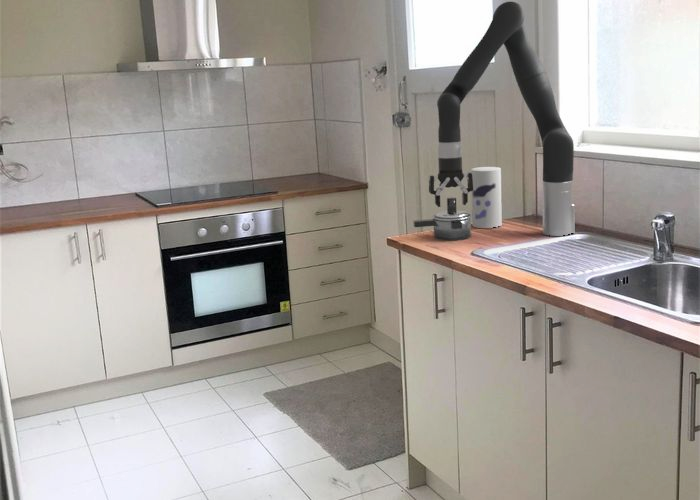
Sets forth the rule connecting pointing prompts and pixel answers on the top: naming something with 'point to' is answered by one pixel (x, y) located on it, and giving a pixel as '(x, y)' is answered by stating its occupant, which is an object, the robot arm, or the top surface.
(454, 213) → the lid
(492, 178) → the container
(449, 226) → the pot
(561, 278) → the top surface
